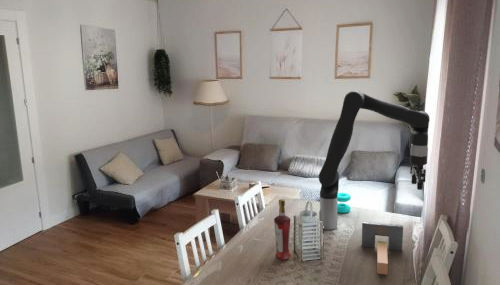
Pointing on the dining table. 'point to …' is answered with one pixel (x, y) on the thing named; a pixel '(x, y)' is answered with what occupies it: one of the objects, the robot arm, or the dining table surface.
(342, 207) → the donuts
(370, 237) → the plate
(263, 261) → the dining table surface
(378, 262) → the plug
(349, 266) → the dining table surface
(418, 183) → the robot arm
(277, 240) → the liquor
